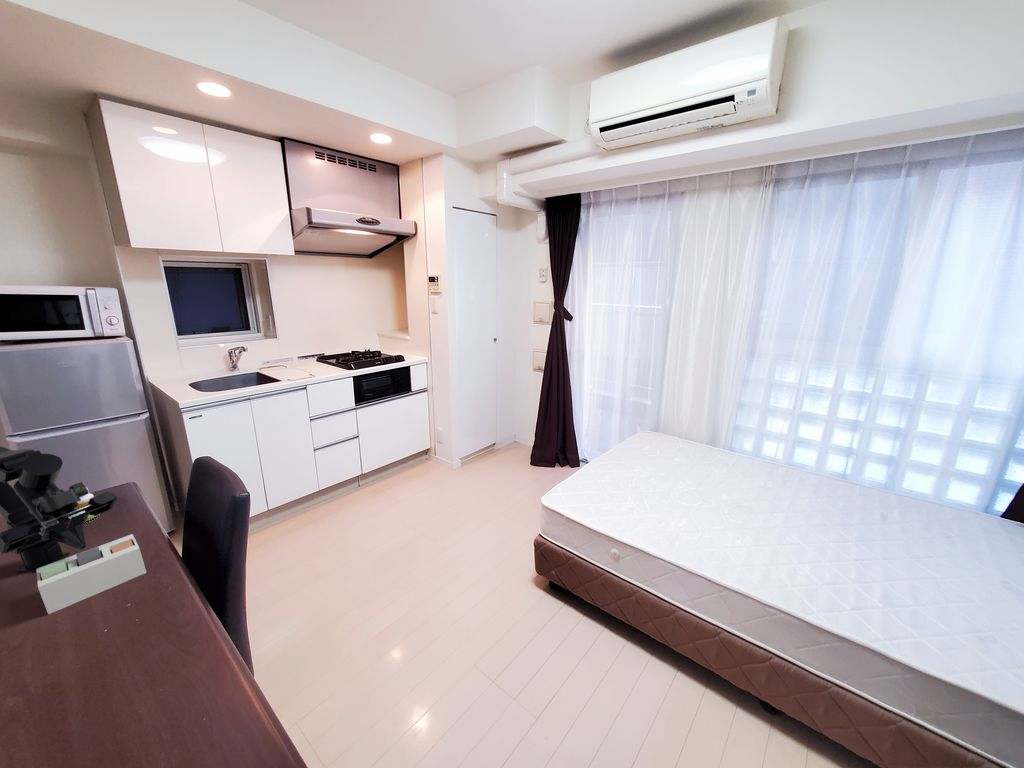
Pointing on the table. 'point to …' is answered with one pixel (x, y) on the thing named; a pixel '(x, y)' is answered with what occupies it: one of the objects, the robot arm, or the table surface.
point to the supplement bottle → (85, 503)
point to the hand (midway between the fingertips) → (83, 548)
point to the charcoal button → (88, 556)
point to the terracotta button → (122, 546)
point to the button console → (91, 575)
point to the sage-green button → (53, 569)
